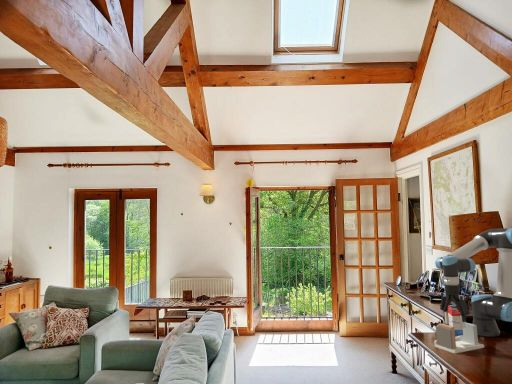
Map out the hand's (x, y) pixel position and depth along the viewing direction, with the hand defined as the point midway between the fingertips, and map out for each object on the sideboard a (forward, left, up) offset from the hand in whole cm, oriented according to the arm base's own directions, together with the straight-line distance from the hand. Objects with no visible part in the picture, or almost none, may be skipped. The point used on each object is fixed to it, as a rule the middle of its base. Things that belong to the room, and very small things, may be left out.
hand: (455, 325), depth 204 cm
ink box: (0, 0, -4) cm, 4 cm away
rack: (-1, 0, -12) cm, 12 cm away
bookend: (-9, 0, -10) cm, 13 cm away
